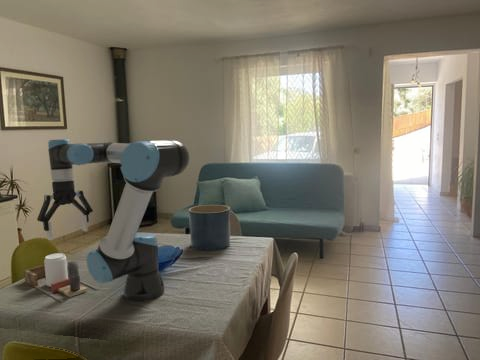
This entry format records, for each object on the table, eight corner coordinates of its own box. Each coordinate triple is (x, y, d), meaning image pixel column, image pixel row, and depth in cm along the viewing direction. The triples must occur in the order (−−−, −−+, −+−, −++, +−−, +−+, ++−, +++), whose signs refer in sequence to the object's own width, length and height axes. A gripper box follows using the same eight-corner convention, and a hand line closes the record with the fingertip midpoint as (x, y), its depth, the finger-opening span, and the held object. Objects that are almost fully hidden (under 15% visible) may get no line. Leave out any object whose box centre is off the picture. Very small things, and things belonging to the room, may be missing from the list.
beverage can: (59, 288, 147) (56, 259, 145) (41, 287, 148) (39, 258, 147) (72, 280, 154) (70, 253, 153) (55, 279, 156) (53, 252, 155)
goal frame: (70, 276, 159) (69, 265, 159) (35, 287, 148) (33, 275, 148) (59, 271, 166) (58, 260, 165) (24, 281, 155) (23, 270, 154)
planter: (186, 251, 190) (185, 213, 187) (193, 239, 212) (192, 205, 209) (229, 250, 189) (228, 212, 186) (232, 238, 211) (231, 204, 208)
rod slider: (92, 289, 145) (89, 259, 143) (64, 299, 136) (61, 268, 135) (78, 282, 151) (76, 254, 150) (51, 292, 143) (48, 262, 141)
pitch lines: (98, 289, 145) (98, 288, 145) (61, 302, 134) (61, 301, 134) (70, 276, 159) (70, 275, 159) (35, 287, 148) (34, 286, 148)
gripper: (89, 176, 151) (93, 226, 153) (23, 183, 132) (29, 241, 134) (98, 177, 146) (103, 229, 148) (31, 184, 127) (38, 244, 129)
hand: (68, 234), depth 141 cm, fingers open, 13 cm apart
